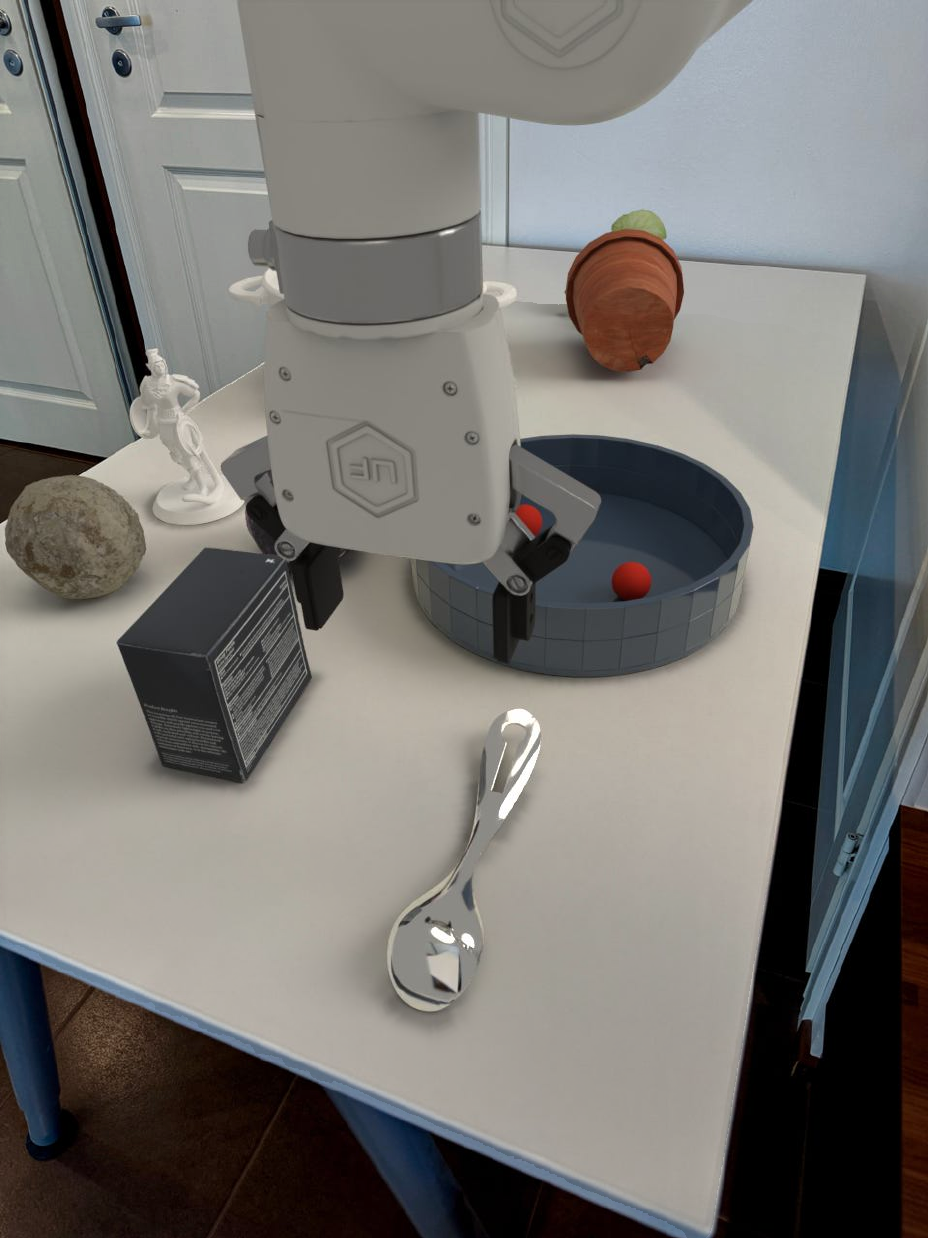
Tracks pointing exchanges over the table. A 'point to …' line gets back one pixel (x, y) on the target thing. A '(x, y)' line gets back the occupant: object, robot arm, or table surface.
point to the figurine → (180, 448)
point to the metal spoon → (459, 887)
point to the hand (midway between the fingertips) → (415, 629)
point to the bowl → (614, 565)
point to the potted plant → (626, 292)
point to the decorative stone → (75, 536)
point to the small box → (218, 662)
